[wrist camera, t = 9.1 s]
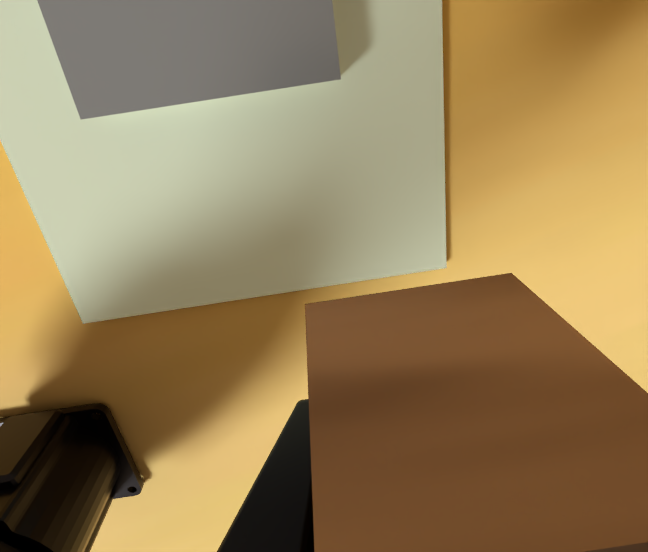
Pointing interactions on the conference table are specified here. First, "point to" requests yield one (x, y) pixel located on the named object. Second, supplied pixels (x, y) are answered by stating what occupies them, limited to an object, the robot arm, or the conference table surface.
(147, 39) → the tile
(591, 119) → the conference table surface
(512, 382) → the block
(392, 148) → the mat
